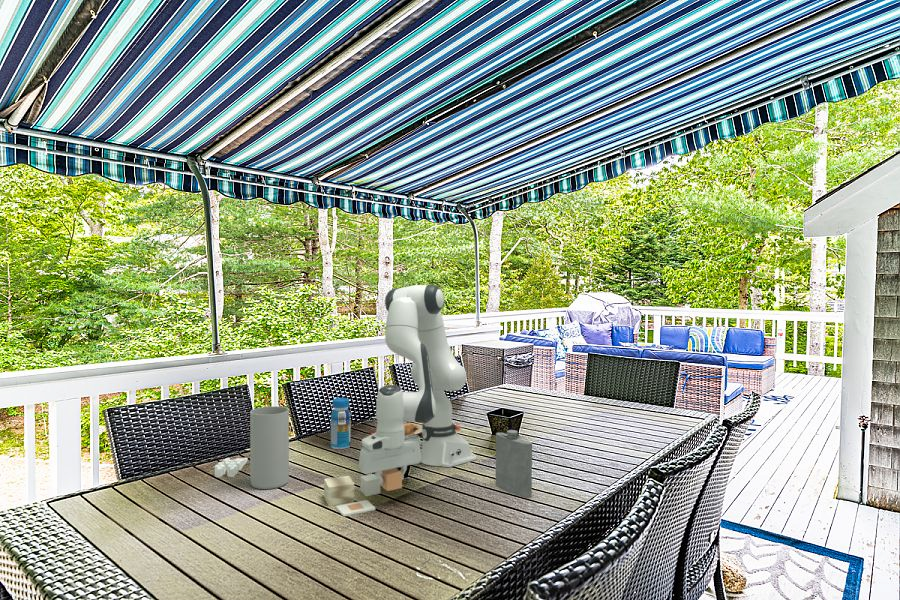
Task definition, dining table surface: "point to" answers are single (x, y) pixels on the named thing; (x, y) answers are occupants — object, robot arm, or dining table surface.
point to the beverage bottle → (340, 424)
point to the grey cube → (369, 485)
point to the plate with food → (410, 429)
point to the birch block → (338, 490)
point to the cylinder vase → (269, 447)
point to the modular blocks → (229, 466)
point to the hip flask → (514, 464)
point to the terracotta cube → (392, 479)
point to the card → (355, 508)
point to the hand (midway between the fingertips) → (391, 481)
